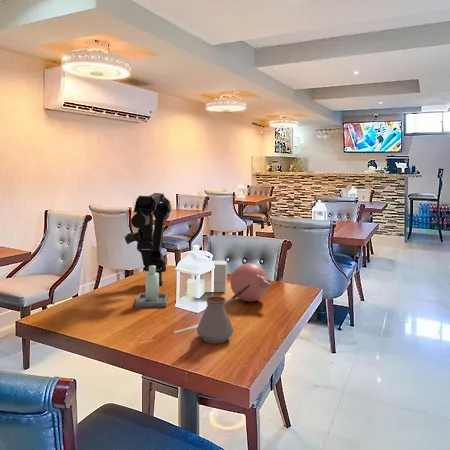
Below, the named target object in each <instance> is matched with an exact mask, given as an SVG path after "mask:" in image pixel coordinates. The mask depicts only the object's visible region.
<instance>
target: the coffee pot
mask: <svg viewBox="0 0 450 450" xmlns="http://www.w3.org/2000/svg"><path fill="white" fill-rule="evenodd" d="M250 286H251V285H250V284H249V285H247V286H246V287H244V288H243V289H242V290H240V291H239V292H237V293H236V294H234V295H233V296H232V297H230V298H229V299H228V300H227V299H226V297H223V296H220V295H219V296H218V295H213V296H212V295H211V296H207V297H206V298H205V302H206V304H207V306H206V308H205V310H204V312H203V314H202V317H201V319H200V321H199V323H198V324H199V325H198V327H197V328H196V332H197V335H198V336H199V337H200V338H201V339H202V340H203V341H204V342H206V343H209V344H221V343H222V344H223V343H224V342H227V340H228V339H229V338H230V337H231V336H232V334H233V333H234V329H233V326H232V323H231V320H230V318H229V315H228V312H227V311H226V306H227V305H229V304H230V303H231V302H232V301H234V300H235V299H236V298H238V296H239V295H241V294H242V293H243V292H244V291H245V290H247V288H249V287H250ZM251 287H252V286H251ZM249 289H250V288H249ZM252 289H253V287H252ZM252 289H250V290H252Z"/></svg>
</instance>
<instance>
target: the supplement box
mask: <svg viewBox="0 0 450 450" xmlns="http://www.w3.org/2000/svg"><path fill="white" fill-rule="evenodd" d="M212 261H213V263H214V265H215V269H214V292H225V293H226V292H227V289H226V288H227V287H228V286H227V285H228V284H227V281H228V280H227V279H228V261H227V260H212ZM214 292H213V293H214Z"/></svg>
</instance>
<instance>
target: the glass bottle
mask: <svg viewBox="0 0 450 450" xmlns="http://www.w3.org/2000/svg"><path fill="white" fill-rule="evenodd" d="M144 290H145V292H144V294H145V301H146V302H158V301H159V294H160V286H159V273H157V272H156V266H154V265H151V266H149V271H147V272H146V273H145V289H144Z"/></svg>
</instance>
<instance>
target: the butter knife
mask: <svg viewBox="0 0 450 450" xmlns="http://www.w3.org/2000/svg"><path fill="white" fill-rule="evenodd" d="M198 325H199V323H197V324H194V325H191V326H189V327H185V328H181V329H179V330H174V331H173V333H174V334H177V333H181V332H185V331H189V330H190V331H191V330H194V329H197V327H198ZM152 341H154V339H152V340H145V341H140V343H142V344H143V343H149V342H152Z"/></svg>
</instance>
